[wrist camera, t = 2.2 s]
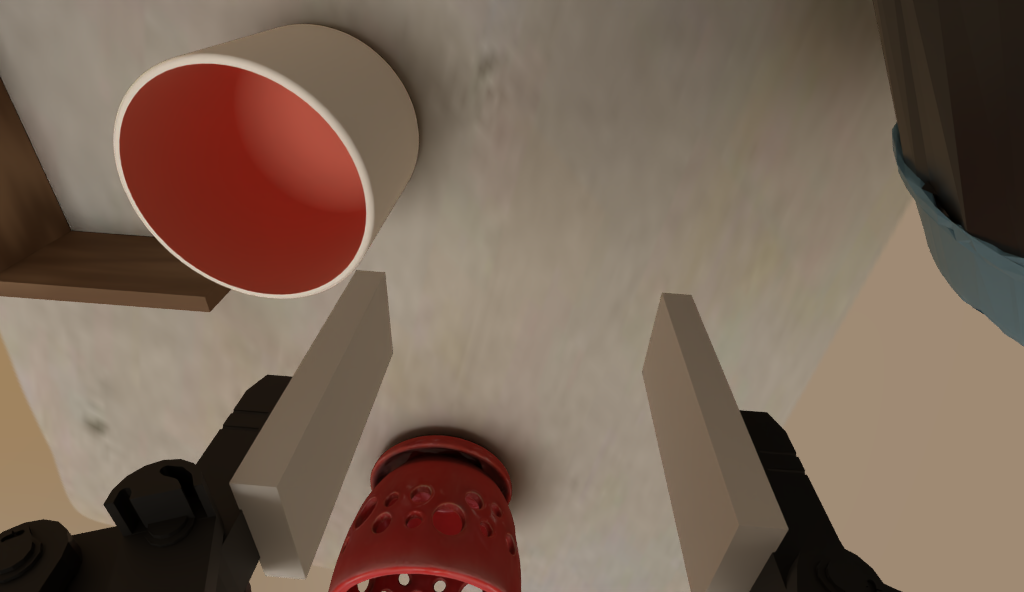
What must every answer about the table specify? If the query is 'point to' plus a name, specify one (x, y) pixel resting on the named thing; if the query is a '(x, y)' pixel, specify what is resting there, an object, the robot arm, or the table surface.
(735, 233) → the table surface
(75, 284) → the box
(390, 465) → the plant pot
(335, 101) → the cup
